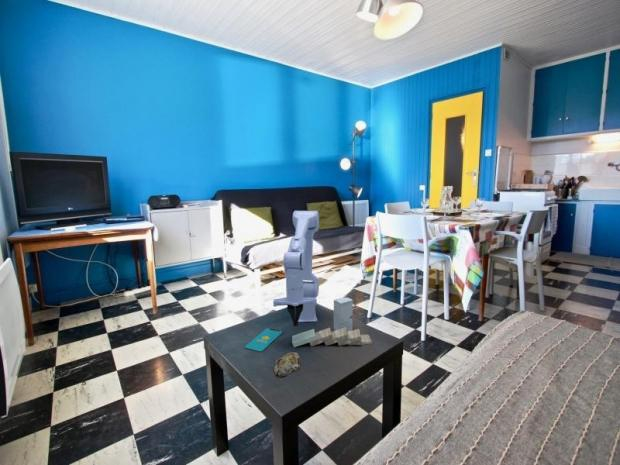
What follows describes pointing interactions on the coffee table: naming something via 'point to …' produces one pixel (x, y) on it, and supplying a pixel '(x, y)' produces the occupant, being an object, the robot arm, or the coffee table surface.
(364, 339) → the domino
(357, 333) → the domino
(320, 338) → the domino
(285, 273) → the robot arm
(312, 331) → the domino
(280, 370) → the mineral rock
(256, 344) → the smartphone
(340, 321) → the skincare box
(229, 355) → the coffee table surface
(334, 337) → the domino
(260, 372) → the coffee table surface
